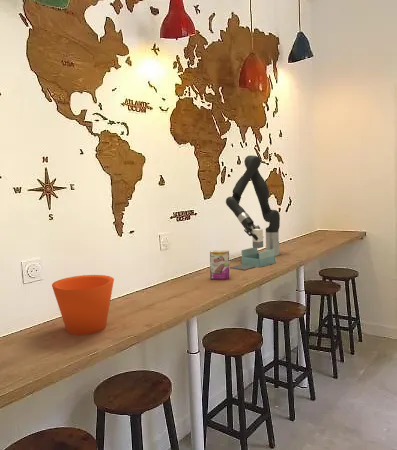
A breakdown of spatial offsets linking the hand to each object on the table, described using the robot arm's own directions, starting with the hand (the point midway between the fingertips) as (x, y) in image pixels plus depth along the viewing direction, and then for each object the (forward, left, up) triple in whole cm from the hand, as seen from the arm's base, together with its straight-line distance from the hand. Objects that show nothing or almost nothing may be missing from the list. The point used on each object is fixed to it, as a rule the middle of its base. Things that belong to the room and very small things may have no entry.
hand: (259, 239), depth 306 cm
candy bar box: (+46, +6, -17) cm, 50 cm away
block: (0, -2, -6) cm, 6 cm away
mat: (+16, -2, -17) cm, 23 cm away
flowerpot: (+144, +21, -17) cm, 147 cm away
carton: (0, -2, -17) cm, 17 cm away
